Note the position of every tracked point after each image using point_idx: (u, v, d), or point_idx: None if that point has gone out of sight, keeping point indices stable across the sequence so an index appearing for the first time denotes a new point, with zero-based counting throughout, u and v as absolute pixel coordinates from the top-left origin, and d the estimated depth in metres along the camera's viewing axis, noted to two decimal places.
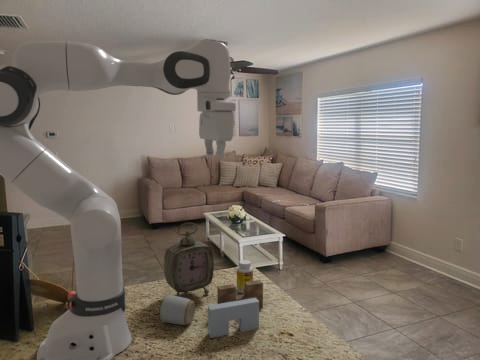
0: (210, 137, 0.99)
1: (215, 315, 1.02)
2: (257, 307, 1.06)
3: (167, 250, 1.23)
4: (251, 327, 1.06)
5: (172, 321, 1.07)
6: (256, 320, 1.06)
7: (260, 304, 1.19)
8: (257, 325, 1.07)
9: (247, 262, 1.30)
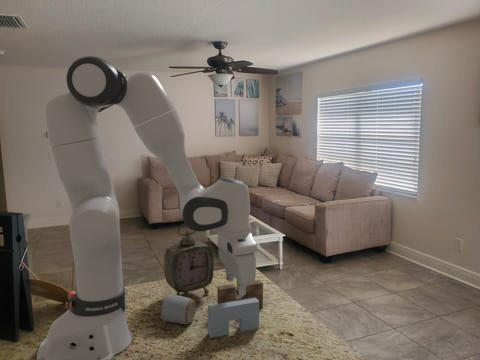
0: (231, 272, 1.00)
1: (215, 315, 1.02)
2: (257, 307, 1.06)
3: (167, 250, 1.23)
4: (251, 327, 1.06)
5: (173, 320, 1.07)
6: (256, 320, 1.06)
7: (260, 304, 1.19)
8: (257, 325, 1.07)
9: None
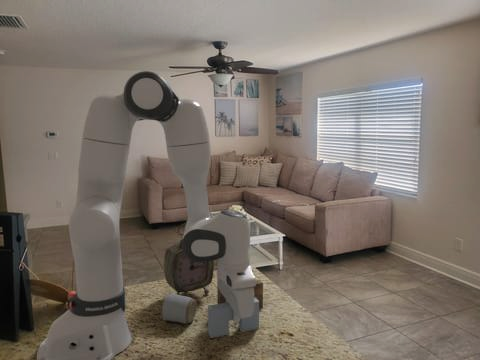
0: (230, 304, 1.01)
1: (215, 315, 1.02)
2: (257, 307, 1.06)
3: (167, 250, 1.23)
4: (251, 327, 1.06)
5: (174, 319, 1.08)
6: (256, 320, 1.06)
7: (260, 304, 1.19)
8: (257, 325, 1.07)
9: None
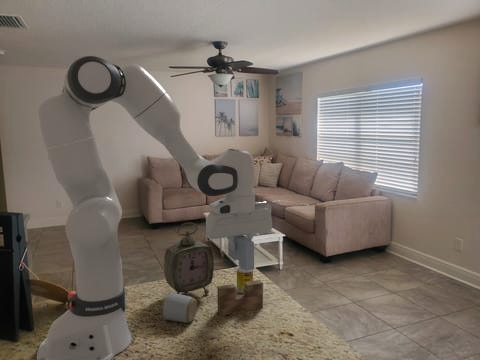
0: None
1: None
2: (245, 248, 1.07)
3: (167, 250, 1.23)
4: (243, 265, 1.10)
5: (174, 318, 1.08)
6: (245, 261, 1.08)
7: (260, 304, 1.19)
8: (245, 266, 1.08)
9: None
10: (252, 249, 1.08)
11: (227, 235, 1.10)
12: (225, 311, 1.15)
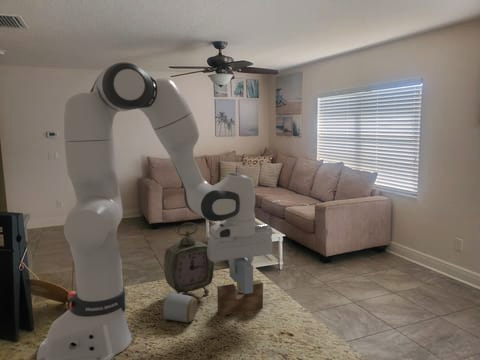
0: None
1: None
2: (244, 272, 1.09)
3: (167, 250, 1.23)
4: (242, 288, 1.12)
5: (175, 318, 1.09)
6: (244, 284, 1.10)
7: (260, 304, 1.19)
8: (244, 290, 1.10)
9: None
10: (251, 273, 1.09)
11: (227, 258, 1.12)
12: (225, 311, 1.15)
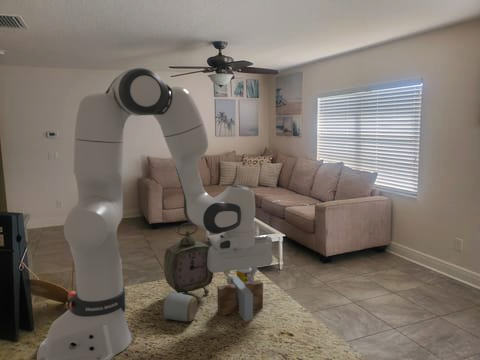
0: None
1: None
2: (244, 299, 1.10)
3: (167, 250, 1.23)
4: (242, 315, 1.13)
5: (175, 317, 1.09)
6: (243, 311, 1.11)
7: (260, 304, 1.19)
8: (244, 317, 1.11)
9: None
10: (251, 300, 1.11)
11: (227, 269, 1.12)
12: (225, 311, 1.15)
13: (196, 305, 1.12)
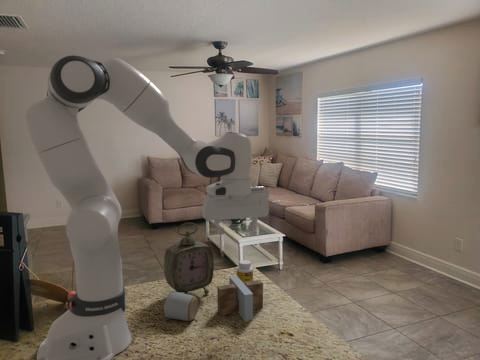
0: None
1: (230, 283, 1.22)
2: (244, 299, 1.10)
3: (167, 250, 1.23)
4: (242, 315, 1.13)
5: (176, 317, 1.09)
6: (243, 311, 1.11)
7: (260, 304, 1.19)
8: (244, 317, 1.11)
9: (247, 262, 1.30)
10: (251, 300, 1.11)
11: (222, 217, 1.11)
12: (225, 311, 1.15)
13: (197, 304, 1.13)
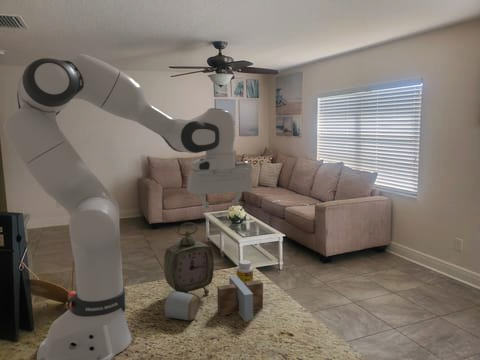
0: None
1: (230, 283, 1.22)
2: (244, 299, 1.10)
3: (167, 250, 1.23)
4: (242, 315, 1.13)
5: (176, 316, 1.10)
6: (243, 311, 1.11)
7: (260, 304, 1.19)
8: (244, 317, 1.11)
9: (247, 262, 1.30)
10: (251, 300, 1.11)
11: (207, 192, 1.14)
12: (225, 311, 1.15)
13: (197, 304, 1.13)
